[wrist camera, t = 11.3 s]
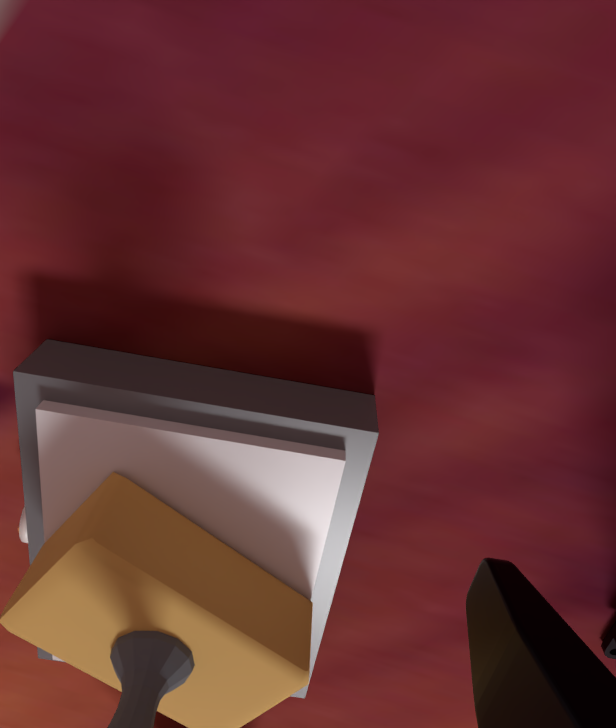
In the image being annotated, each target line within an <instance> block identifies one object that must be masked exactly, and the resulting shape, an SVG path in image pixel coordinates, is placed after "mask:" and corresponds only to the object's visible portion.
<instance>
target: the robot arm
mask: <svg viewBox="0 0 616 728" xmlns="http://www.w3.org/2000/svg"><path fill="white" fill-rule="evenodd" d="M466 614H467V626H468V637H469V649H470V660H471V672H472V683H473V694H474V703H475V711H476V717H477V723H478V728H616V678H615V676H614V675H613V674H612V673H611V672H610V671H609V670H608V669H607V668H606V666H605V665H604V664H603V663H602V662H601V661H600V660H599V659H598V658H597V656H596V655H595V654H594V653H593V652H592V651H591V650H590V649H589V647H588V646H587V645H586V644H585V643H584V642H583V641H582V640H581V639H580V637H579V636H578V635H577V634H576V633H575V632H574V631H573V630H572V629H571V627H570V626H569V625H568V624H567V623H566V622H565V621H564V620H563V619H562V617H561V616H560V615H559V614H558V613H557V612H556V611H555V610H554V608H553V607H552V606H551V605H550V604H549V603H548V602H547V601H546V600H545V598H544V597H543V596H542V595H541V594H540V593H539V592H538V591H537V590H536V588H535V587H534V586H533V585H532V584H531V583H530V582H529V581H528V579H527V578H526V577H525V576H524V575H523V574H522V573H521V572H520V571H519V569H518V568H517V567H516V566H515V565H514V564H513V563H511V562H509V561H507V560H500V559H494V558H485V559H483V560H482V562H481V563H480V565H479V567H478V570H477V572H476V574H475V577H474V579H473V581H472V584H471V586H470V588H469V591H468V594H467V599H466ZM601 647H602V649H603V652H604V654H605V656H607V657H608V658H612V659H616V622H615V624H614V625H613V627H612V628H611V630H610V631H609V633H608V635H607V636H606V638H605V639H604V641H603V642H602V645H601Z"/></svg>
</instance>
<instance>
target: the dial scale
mask: <svg viewBox="0 0 616 728" xmlns="http://www.w3.org/2000/svg"><path fill="white" fill-rule="evenodd" d="M13 376H14V387H15V398H16V410H17V421H18V433H19V444H20V455H21V467H22V478H23V490H24V501H25V506H24V508H23V511H22V515H21V519H20V524H19V527H18V532H19V536H20V539H21V541H22V542H24V543H28V547H29V558H30V566H31V564H32V562H33V561H34V559H35V557H36V556H37V554H38V553H39V551H40V549H41V548H42V546H43V544H44V543H45V542H46V541H47V540H48V539H49V538H50V537H51V536H52V535H53V534H54V533H55V532H56V531H57V530H58V529H59V528H60V527H61V526H62V525H63V523H64V522H65V521H66V520H67V519H68V518H69V517H70V516H71V515H72V514H73V513H74V512H75V511H76V510H77V509H78V508H79V507H80V506H81V505H82V504H83V503H84V502H85V501H86V500H87V498H88V497H89V496H90V495H91V494H92V493H93V492H94V491H95V490H96V489H97V488H98V487H99V486H100V485H101V484H102V483H103V482H104V481H105V480H106V479H107V478H108V477H109V476H110V475H111V473H112V472H114V473H117V474H119V475H121V476H123V477H125V478H127V479H129V480H130V481H132V482H133V483H135V484H136V485H138V486H139V487H141V488H142V489H144V490H145V491H147V492H148V493H150V494H151V495H153V496H154V497H156V498H157V499H159V500H160V501H162V502H163V503H165V504H166V505H168V506H169V507H171V508H172V509H173V510H175V511H176V512H178V513H179V514H181V515H182V516H184V517H185V518H187V519H188V520H190V521H191V522H193V523H194V524H196V525H197V526H199V527H200V528H202V529H203V530H205V531H206V532H208V533H209V534H211V535H212V536H214V537H215V538H217V539H218V540H220V541H221V542H223V543H224V544H226V545H227V546H229V547H230V548H232V549H233V550H235V551H236V552H238V553H239V554H241V555H242V556H244V557H245V558H247V559H248V560H250V561H251V562H253V563H254V564H256V565H257V566H259V567H260V568H262V569H263V570H265V571H266V572H268V573H269V574H271V575H272V576H274V577H275V578H277V579H278V580H280V581H281V582H283V583H284V584H286V585H287V586H289V587H290V588H292V589H293V590H295V591H296V592H298V593H299V594H301V595H302V596H304V597H305V598H307V599H308V600H310V601H311V602H312V603H313V610H312V631H311V652H310V672H309V681H310V678H311V674H312V671H313V667H314V663H315V660H316V656H317V653H318V649H319V646H320V642H321V638H322V635H323V631H324V628H325V624H326V620H327V617H328V613H329V610H330V606H331V603H332V599H333V595H334V592H335V588H336V585H337V581H338V577H339V574H340V570H341V567H342V563H343V559H344V556H345V552H346V549H347V545H348V542H349V538H350V534H351V531H352V527H353V524H354V520H355V516H356V513H357V509H358V506H359V502H360V499H361V495H362V491H363V488H364V484H365V481H366V477H367V473H368V470H369V466H370V463H371V459H372V455H373V452H374V448H375V445H376V441H377V438H378V434H379V431H378V421H377V412H376V403H375V395H369V394H363V393H358V392H352V391H346V390H340V389H334V388H329V387H323V386H317V385H311V384H305V383H299V382H294V381H288V380H282V379H276V378H270V377H264V376H259V375H253V374H247V373H241V372H235V371H230V370H224V369H218V368H212V367H206V366H200V365H195V364H189V363H183V362H177V361H171V360H166V359H160V358H154V357H148V356H142V355H136V354H131V353H125V352H119V351H113V350H107V349H102V348H96V347H90V346H84V345H78V344H72V343H67V342H61V341H55V340H49V339H47V340H45V341H44V342H43V343H42V344H41V345H40V346H39V347H38V348H37V349H36V350H35V351H34V352H33V353H32V354H31V355H30V356H29V357H28V358H26V359H25V360H24V361H23V362H22V363H21V364H20V365H19V366H18V367H17V368H16V369H15V370H14V371H13ZM37 650H38V658H41V659H48V660H55V661H61V662H65V661H63V660H61V659H59V658H58V657H56V656H54V655H52V654H50V653H48V652H46V651H45V650H43V649H41V648H39V647H37ZM308 685H309V684H308ZM308 685H306V686H305V687H303V688H302V689H300V690H299V691H297V692H295V693H294V694H292V695H291V696H293V697H299V698H305V696H306V692H307V689H308Z"/></svg>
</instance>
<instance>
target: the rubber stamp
mask: <svg viewBox="0 0 616 728" xmlns="http://www.w3.org/2000/svg"><path fill="white" fill-rule="evenodd" d="M312 610H313V603H312V602H311V601H310V600H308V599H307V598H305V597H304V596H302V595H301V594H299V593H298V592H296V591H295V590H293V589H292V588H290V587H289V586H287V585H286V584H284V583H283V582H281V581H280V580H278V579H277V578H275V577H274V576H272V575H271V574H269V573H268V572H266V571H265V570H263V569H262V568H260V567H259V566H257V565H256V564H254V563H253V562H251V561H250V560H248V559H247V558H245V557H244V556H242V555H241V554H239V553H238V552H236V551H235V550H233V549H232V548H230V547H229V546H227V545H226V544H224V543H223V542H221V541H220V540H218V539H217V538H215V537H214V536H212V535H211V534H209V533H208V532H206V531H205V530H203V529H202V528H200V527H199V526H197V525H196V524H194V523H193V522H191V521H190V520H188V519H187V518H185V517H184V516H182V515H181V514H179V513H178V512H176V511H175V510H173V509H172V508H171V507H169V506H168V505H166V504H165V503H163V502H162V501H160V500H159V499H157V498H156V497H154V496H153V495H151V494H150V493H148V492H147V491H145V490H144V489H142V488H141V487H139V486H138V485H136V484H135V483H133V482H132V481H130V480H129V479H127V478H125V477H123V476H121V475H119V474H117V473H114V472H112V473H111V475H110V476H109V477H108V478H107V479H106V480H105V481H104V482H103V483H102V484H101V485H100V486H99V487H98V488H97V489H96V490H95V491H94V492H93V493H92V494H91V495H90V496H89V497H88V498H87V500H86V501H85V502H84V503H83V504H82V505H81V506H80V507H79V508H78V509H77V510H76V511H75V512H74V513H73V514H72V515H71V516H70V517H69V518H68V519H67V520H66V521H65V522H64V523H63V525H62V526H61V527H60V528H59V529H58V530H57V531H56V532H55V533H54V534H53V535H52V536H51V537H50V538H49V539H48V540H47V541H46V542H45V543H44V544H43V546H42V548H41V549H40V551H39V553H38V554H37V556H36V557H35V559H34V561H33V562H32V564H31V566H30V567H29V569H28V570H27V572H26V574H25V575H24V577H23V579H22V580H21V582H20V584H19V585H18V587H17V588H16V590H15V592H14V593H13V595H12V597H11V598H10V600H9V601H8V603H7V605H6V606H5V608H4V610H3V612H2V614H1V616H0V623H1V624H2V625H3V626H4V627H5V628H6V629H7V630H8V631H9V632H11V633H13V634H15V635H17V636H19V637H20V638H22V639H24V640H26V641H28V642H30V643H32V644H33V645H35V646H37V647H39V648H41V649H43V650H45V651H46V652H48V653H50V654H52V655H54V656H56V657H58V658H59V659H61V660H63V661H65V662H67V663H69V664H71V665H72V666H74V667H76V668H78V669H80V670H82V671H84V672H86V673H87V674H89V675H91V676H93V677H95V678H97V679H99V680H100V681H102V682H104V683H106V684H108V685H110V686H112V687H113V688H115V689H117V690H119V691H121V692H122V695H121V698H120V702H119V705H118V708H117V710H116V712H115V714H114V716H113V719H112V721H111V723H110V724H109V726H108V728H153V727H154V721H155V714H156V711H158V712H160V713H162V714H164V715H165V716H167V717H169V718H171V719H173V720H175V721H177V722H178V723H180V724H182V725H184V726H186V727H188V728H240V727H242V726H243V725H245V724H247V723H248V722H250V721H251V720H253V719H254V718H256V717H258V716H259V715H261V714H262V713H264V712H265V711H267V710H269V709H270V708H272V707H273V706H275V705H276V704H278V703H280V702H281V701H283V700H284V699H286V698H288V697H289V696H291V695H292V694H294V693H295V692H297V691H299V690H300V689H302V688H303V687H305V686H306V685H308V684H309V672H310V652H311V631H312Z"/></svg>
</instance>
